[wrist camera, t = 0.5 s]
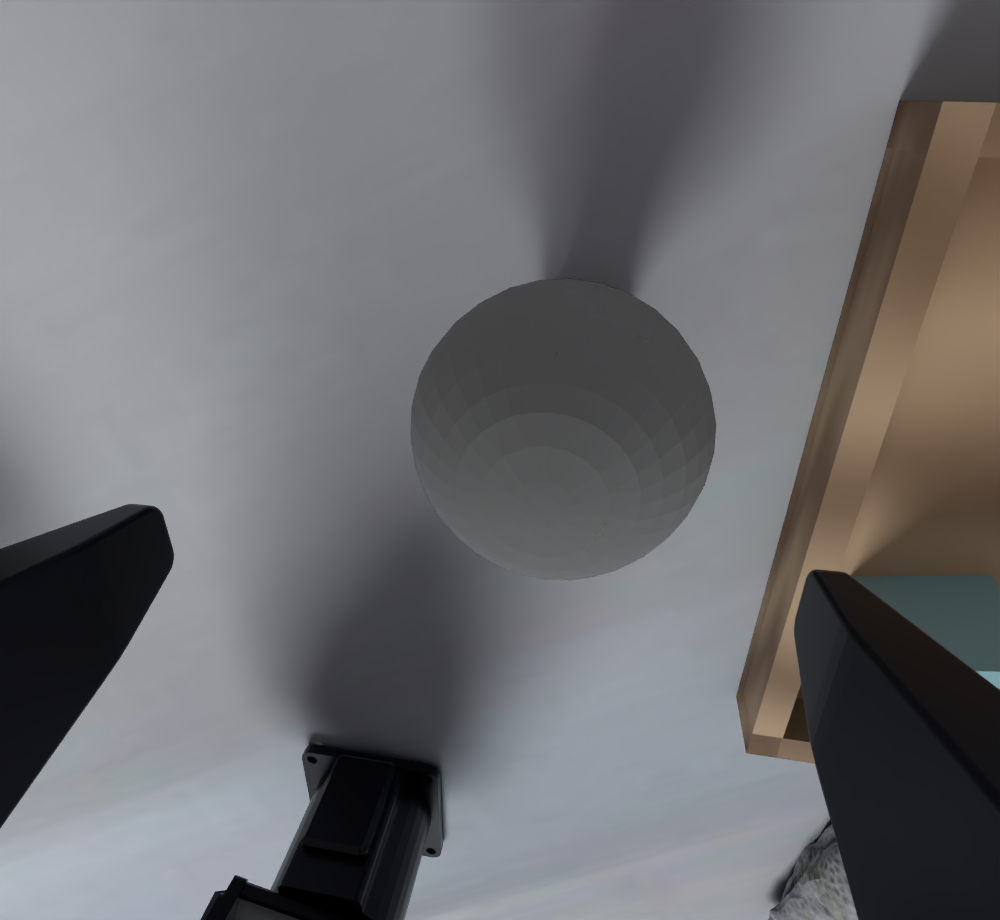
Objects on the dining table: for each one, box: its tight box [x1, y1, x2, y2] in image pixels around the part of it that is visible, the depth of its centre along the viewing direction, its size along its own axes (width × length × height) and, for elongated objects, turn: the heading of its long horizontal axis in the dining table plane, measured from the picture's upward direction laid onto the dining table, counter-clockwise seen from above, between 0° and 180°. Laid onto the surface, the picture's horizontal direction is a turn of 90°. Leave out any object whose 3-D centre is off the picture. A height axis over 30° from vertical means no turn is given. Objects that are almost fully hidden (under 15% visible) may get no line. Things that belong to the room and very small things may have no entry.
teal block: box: [853, 575, 1000, 689], centre depth 20 cm, size 4×4×4 cm
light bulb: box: [411, 279, 716, 580], centre depth 15 cm, size 6×6×10 cm
